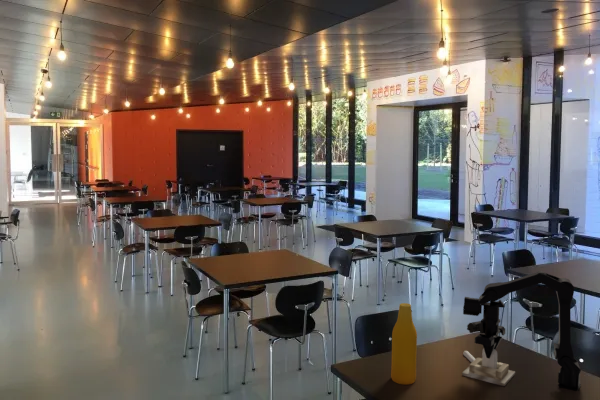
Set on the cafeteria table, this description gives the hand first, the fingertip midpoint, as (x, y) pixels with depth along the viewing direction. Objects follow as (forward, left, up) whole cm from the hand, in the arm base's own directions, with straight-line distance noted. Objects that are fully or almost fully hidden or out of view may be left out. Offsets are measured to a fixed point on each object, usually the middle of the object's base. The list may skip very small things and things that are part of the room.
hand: (489, 356), depth 206 cm
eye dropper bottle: (0, 0, -5) cm, 5 cm away
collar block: (0, 0, -7) cm, 7 cm away
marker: (+11, -11, -8) cm, 18 cm away
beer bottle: (+24, +25, -8) cm, 35 cm away
